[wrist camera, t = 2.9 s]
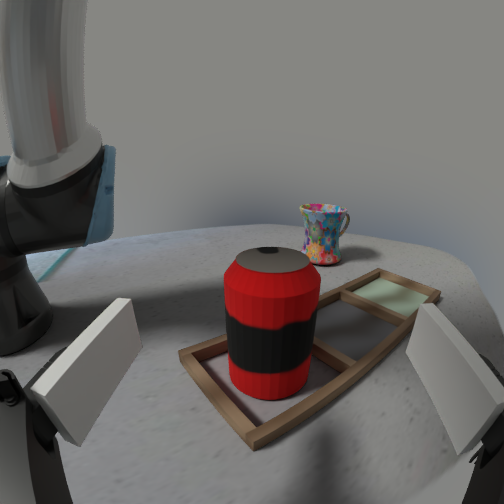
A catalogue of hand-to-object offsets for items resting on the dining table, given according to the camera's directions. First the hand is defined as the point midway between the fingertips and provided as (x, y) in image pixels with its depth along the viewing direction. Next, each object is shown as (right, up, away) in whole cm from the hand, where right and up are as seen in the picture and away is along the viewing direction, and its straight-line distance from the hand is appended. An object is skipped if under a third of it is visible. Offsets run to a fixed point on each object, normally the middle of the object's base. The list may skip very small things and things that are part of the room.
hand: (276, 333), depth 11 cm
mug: (+14, +2, +44) cm, 46 cm away
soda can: (+1, -9, +14) cm, 16 cm away
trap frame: (+10, -6, +20) cm, 23 cm away
